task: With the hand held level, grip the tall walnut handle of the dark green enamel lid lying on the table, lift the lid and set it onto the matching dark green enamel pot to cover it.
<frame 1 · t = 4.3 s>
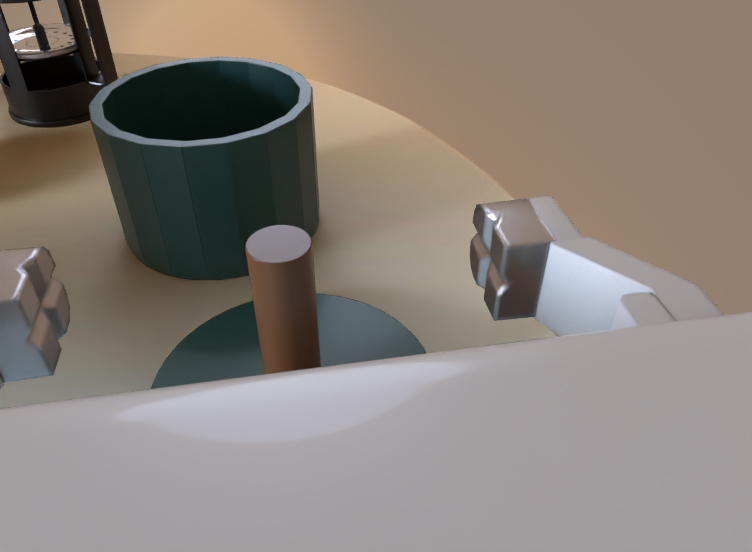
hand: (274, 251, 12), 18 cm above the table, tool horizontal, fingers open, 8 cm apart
french press: (68, 108, 61), on the table
lid: (295, 393, 33), point 1 cm above the table
pot: (225, 220, 46), on the table
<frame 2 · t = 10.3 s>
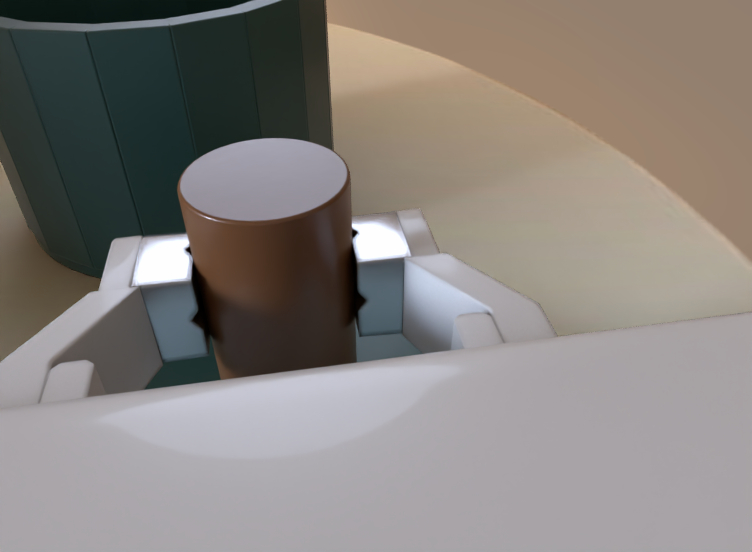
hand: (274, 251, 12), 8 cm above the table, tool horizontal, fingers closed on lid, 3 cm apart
lid: (307, 503, 16), point 1 cm above the table, touching gripper
pot: (190, 191, 30), on the table
when the fingers open (17 cm above the table, at t = 17.4 s): lid stays where it is, resting on pot.
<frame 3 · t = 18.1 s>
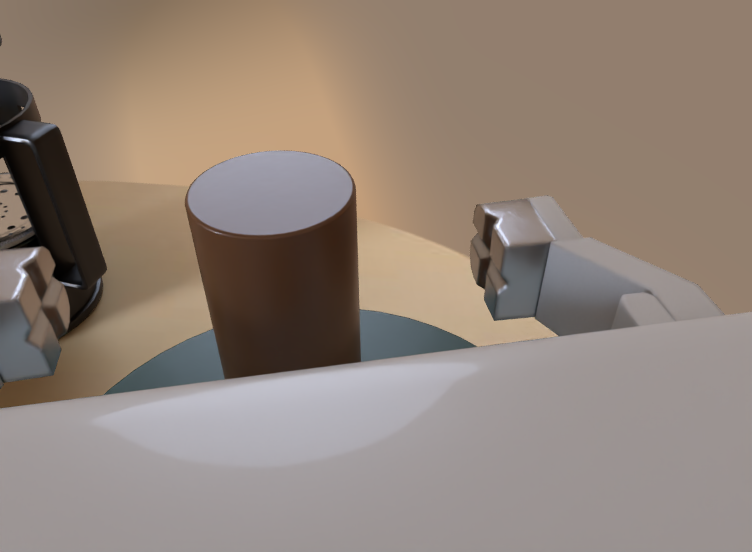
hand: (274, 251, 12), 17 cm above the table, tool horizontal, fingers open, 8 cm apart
french press: (28, 306, 38), on the table
lid: (311, 509, 16), point 9 cm above the table, touching pot
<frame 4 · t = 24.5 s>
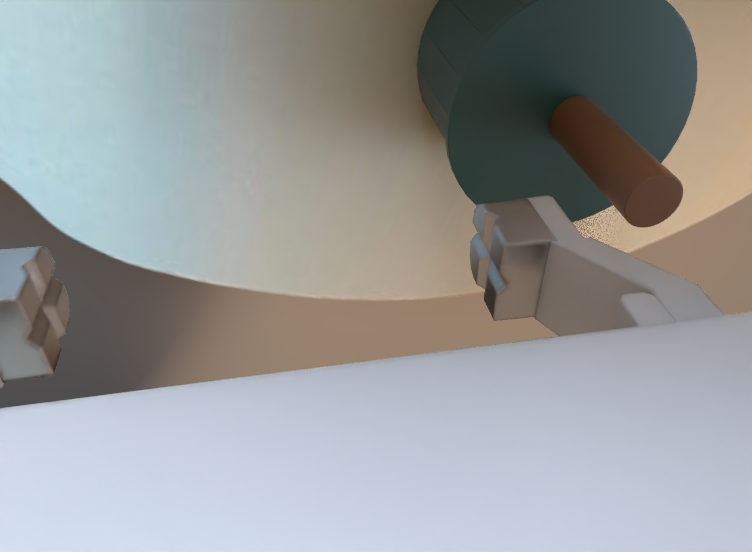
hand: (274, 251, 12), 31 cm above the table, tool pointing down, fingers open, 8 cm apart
lid: (568, 114, 36), point 9 cm above the table, touching pot
pot: (513, 56, 44), on the table
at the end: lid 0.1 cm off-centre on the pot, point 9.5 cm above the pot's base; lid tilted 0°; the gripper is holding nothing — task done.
